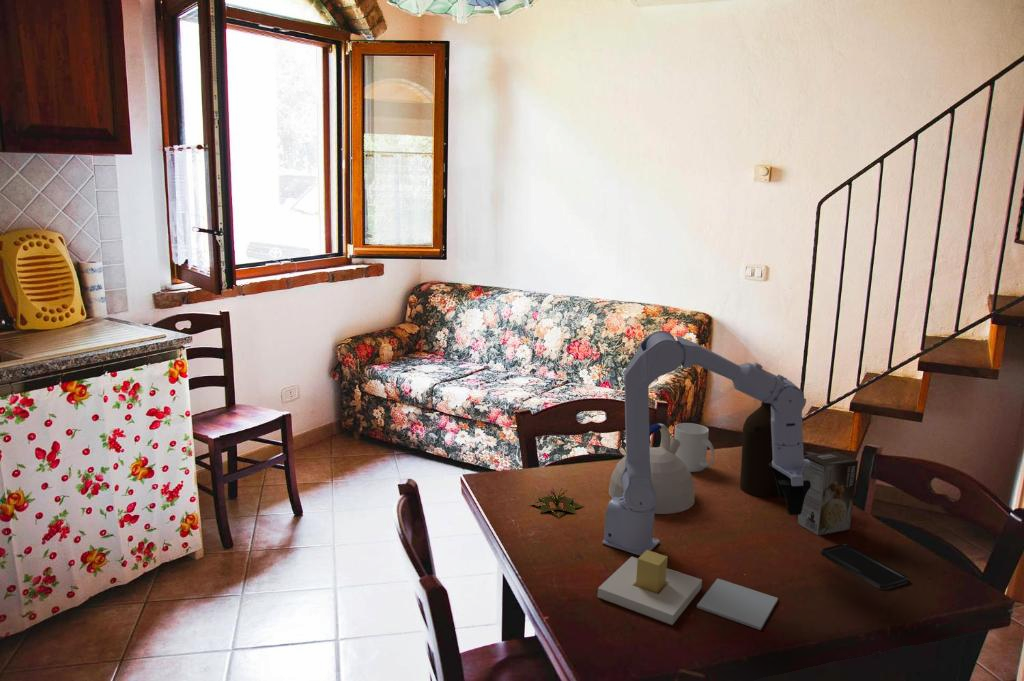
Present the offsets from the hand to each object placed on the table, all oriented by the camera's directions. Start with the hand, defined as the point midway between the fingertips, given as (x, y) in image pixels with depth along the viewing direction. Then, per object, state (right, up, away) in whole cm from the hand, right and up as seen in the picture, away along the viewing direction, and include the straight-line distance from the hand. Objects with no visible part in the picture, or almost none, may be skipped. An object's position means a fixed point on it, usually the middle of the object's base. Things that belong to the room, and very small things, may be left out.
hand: (790, 505), depth 143 cm
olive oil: (+6, -4, +34) cm, 34 cm away
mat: (-16, -14, -16) cm, 26 cm away
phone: (+13, -12, -2) cm, 18 cm away
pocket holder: (-31, -13, -14) cm, 36 cm away
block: (-31, -13, -14) cm, 36 cm away
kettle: (-22, -5, +28) cm, 36 cm away
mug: (-8, -1, +46) cm, 47 cm away
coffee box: (+13, -8, +15) cm, 21 cm away
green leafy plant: (-45, -6, +21) cm, 50 cm away
